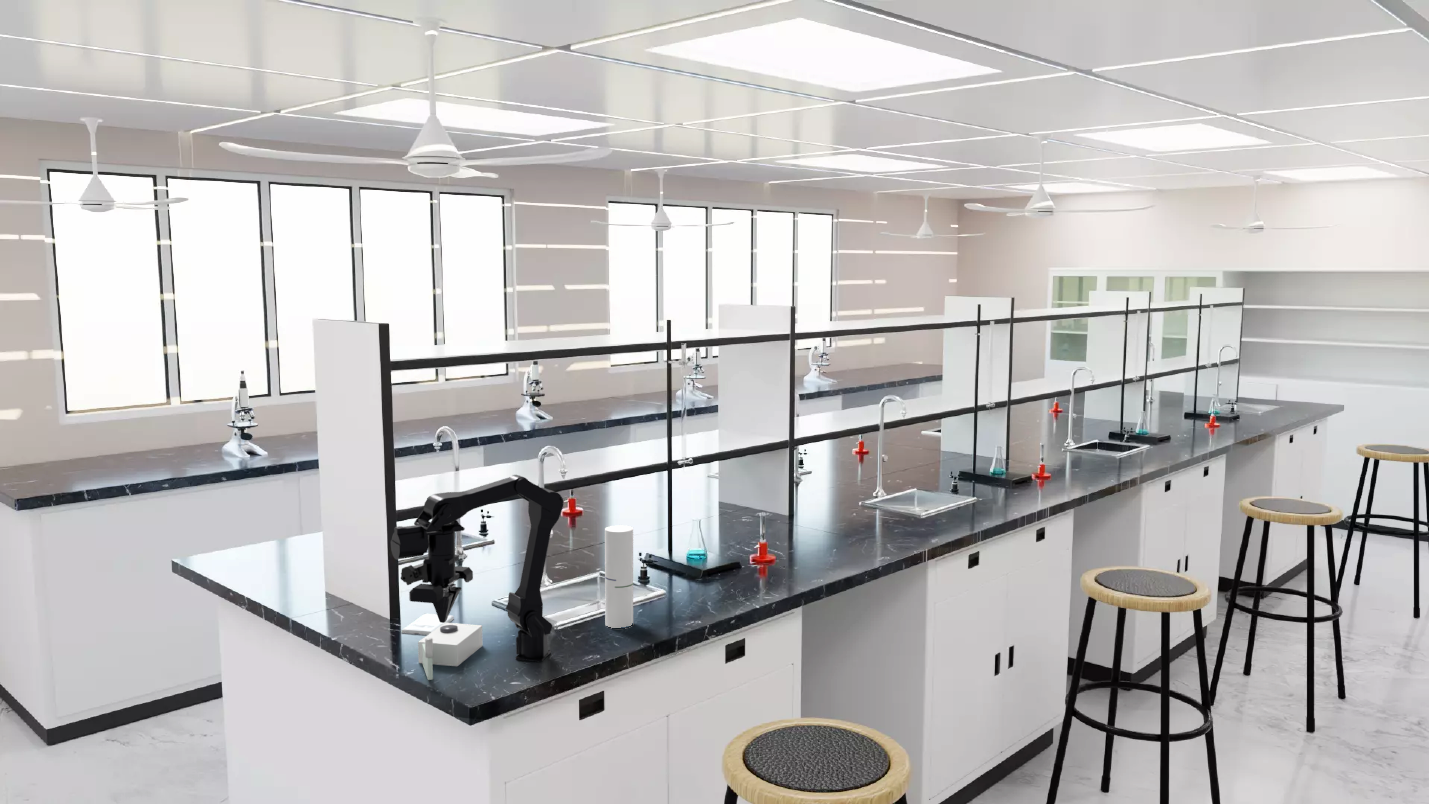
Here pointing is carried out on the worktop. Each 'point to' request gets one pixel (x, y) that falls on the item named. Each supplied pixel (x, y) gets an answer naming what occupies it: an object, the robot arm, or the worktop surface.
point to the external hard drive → (425, 624)
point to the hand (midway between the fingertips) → (442, 622)
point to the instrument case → (453, 643)
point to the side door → (428, 657)
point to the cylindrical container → (618, 576)
